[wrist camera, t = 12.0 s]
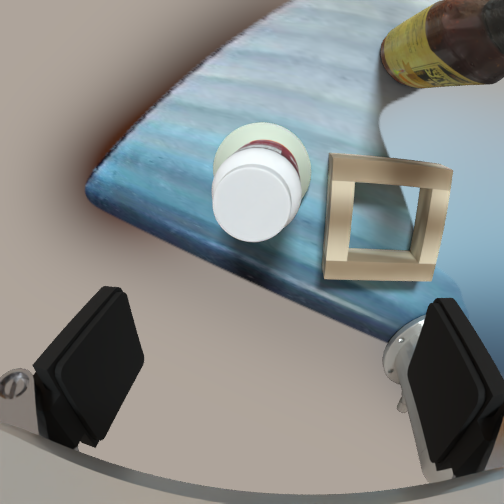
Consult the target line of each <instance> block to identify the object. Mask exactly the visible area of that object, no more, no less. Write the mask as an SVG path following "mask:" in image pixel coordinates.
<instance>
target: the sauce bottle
mask: <svg viewBox="0 0 504 504" xmlns="http://www.w3.org/2000/svg"><path fill="white" fill-rule="evenodd" d="M381 58H382V63H383V65H384V67H385V69H386V70H387V72H388V73H389V75H391V77H393V78H394V79H395V80H396V81H397V82H399V83H402V84H404V85H407V86H410V87H415V88H431V87H445V86H460V85H483V84H494V83H496V82H498V81H499V80H501V79H502V78H503V77H504V0H442V1H439V2H437V3H435V4H433V5H431V6H429V7H428V8H426V9H424V10H423V11H421V12H419V13H418V14H416V15H414V16H413V17H411V18H409V19H408V20H406V21H405V22H403V23H401V24H400V25H398V26H397V27H395V28H394V29H392V30H391V31H390V32H389V33H388V35H387V36H386V38H385V39H384V40H383V42H382V44H381Z"/></svg>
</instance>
